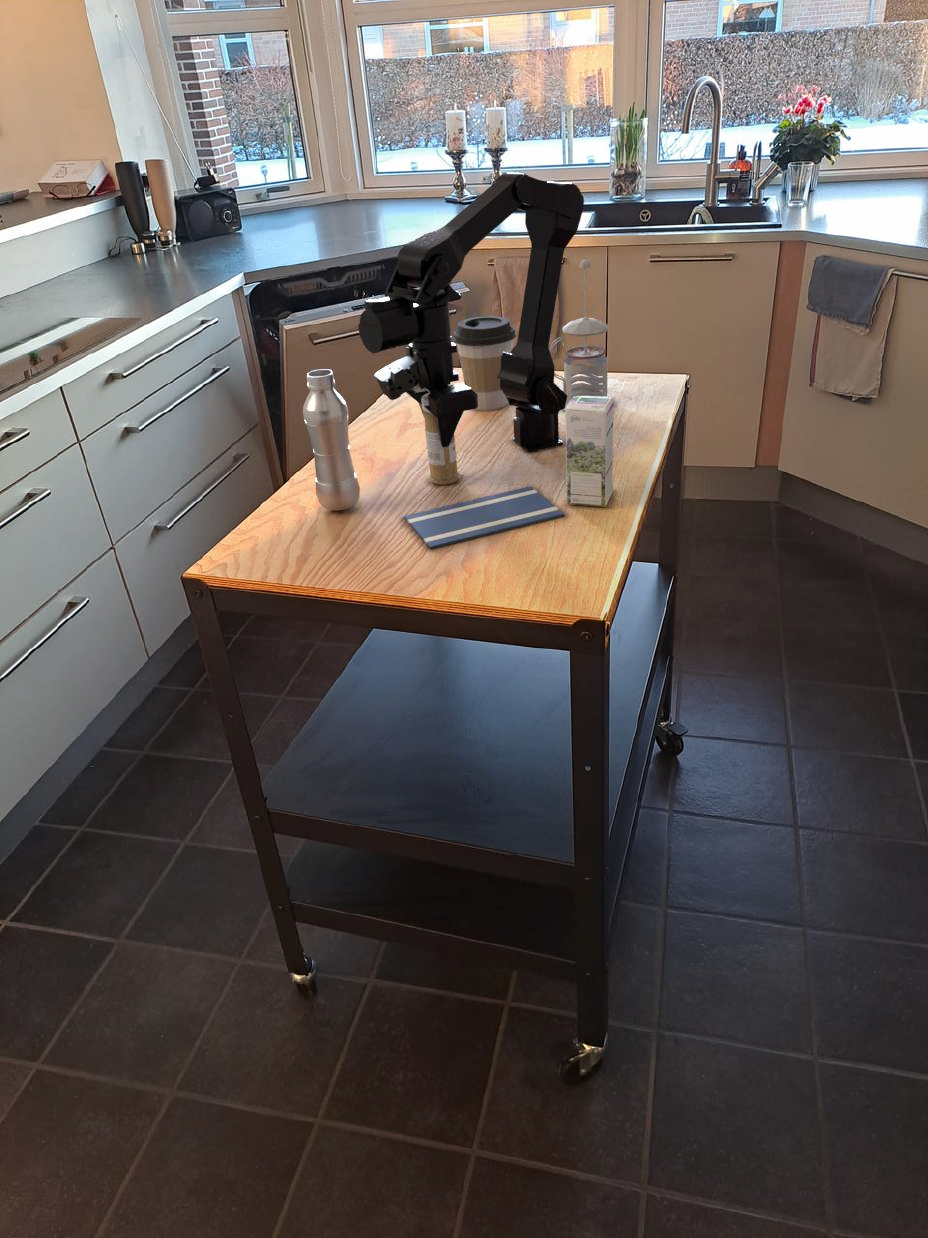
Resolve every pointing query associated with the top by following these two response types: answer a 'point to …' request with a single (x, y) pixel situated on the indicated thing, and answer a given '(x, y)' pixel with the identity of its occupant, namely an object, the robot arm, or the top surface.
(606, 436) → the syrup box
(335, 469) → the silver water bottle
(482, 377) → the coffee cup
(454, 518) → the tea towel
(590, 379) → the french press
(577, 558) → the top surface
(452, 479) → the sprinkles bottle
